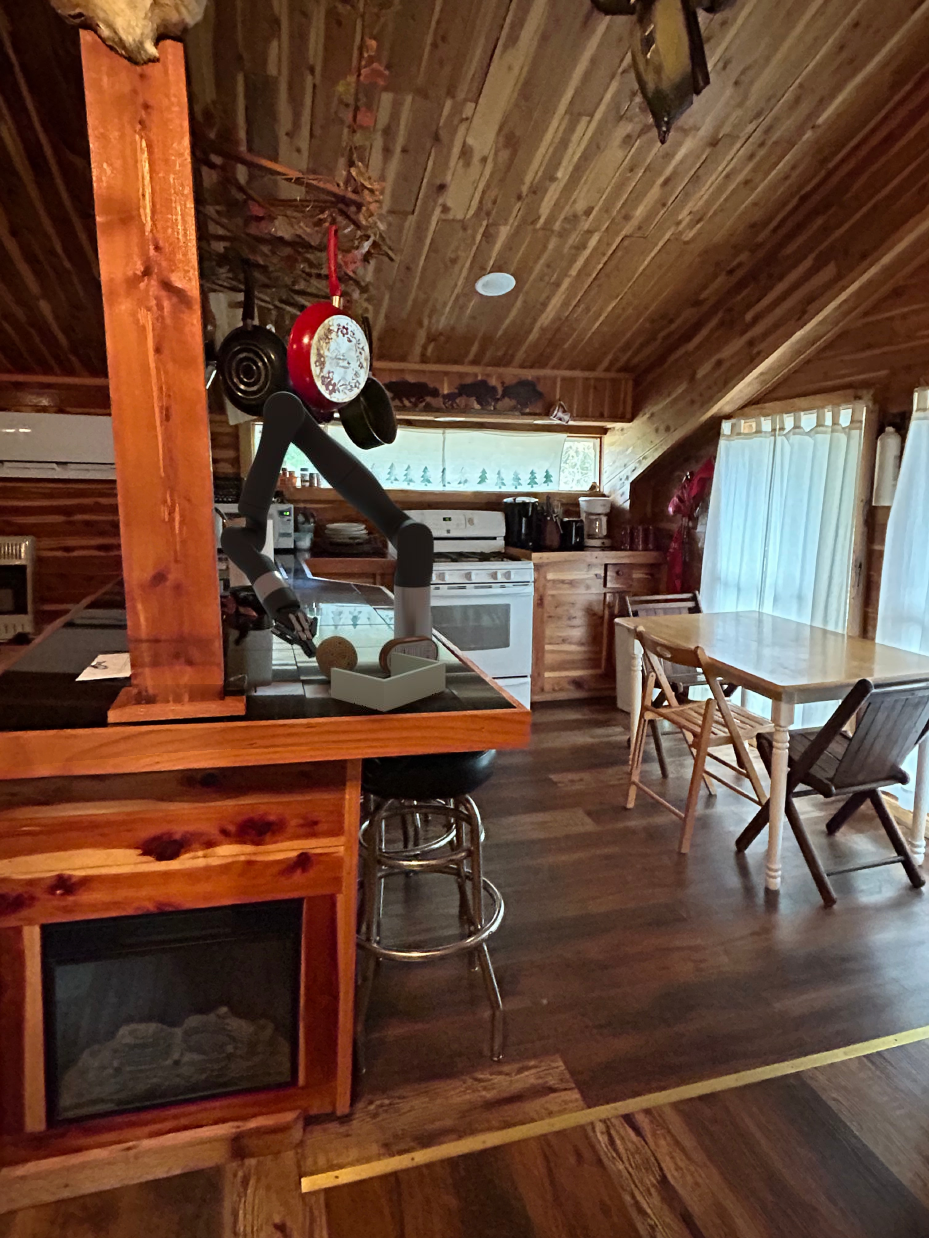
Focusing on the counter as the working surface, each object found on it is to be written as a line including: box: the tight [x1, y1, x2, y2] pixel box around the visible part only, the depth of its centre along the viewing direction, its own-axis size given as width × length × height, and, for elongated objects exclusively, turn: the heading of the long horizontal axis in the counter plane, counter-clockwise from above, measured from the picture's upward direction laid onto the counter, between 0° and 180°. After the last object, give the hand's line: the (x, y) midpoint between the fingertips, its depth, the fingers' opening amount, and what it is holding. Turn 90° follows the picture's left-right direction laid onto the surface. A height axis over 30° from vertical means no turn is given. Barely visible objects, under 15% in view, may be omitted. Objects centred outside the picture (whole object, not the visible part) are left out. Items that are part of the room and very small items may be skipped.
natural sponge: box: [315, 635, 359, 681], centre depth 164 cm, size 9×9×10 cm
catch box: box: [330, 652, 447, 712], centre depth 156 cm, size 19×14×6 cm
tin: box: [378, 635, 439, 676], centre depth 172 cm, size 15×3×8 cm, turn 128°
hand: (314, 655), depth 169 cm, fingers closed
